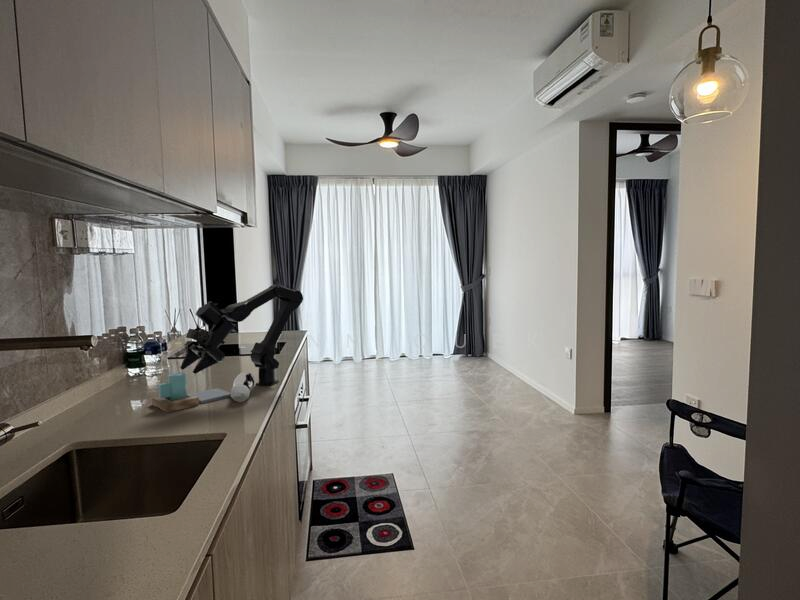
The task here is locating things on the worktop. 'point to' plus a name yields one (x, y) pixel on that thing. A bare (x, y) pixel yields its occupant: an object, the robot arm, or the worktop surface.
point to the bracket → (174, 403)
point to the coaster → (210, 395)
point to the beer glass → (242, 387)
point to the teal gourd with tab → (174, 387)
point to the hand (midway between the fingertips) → (187, 370)
